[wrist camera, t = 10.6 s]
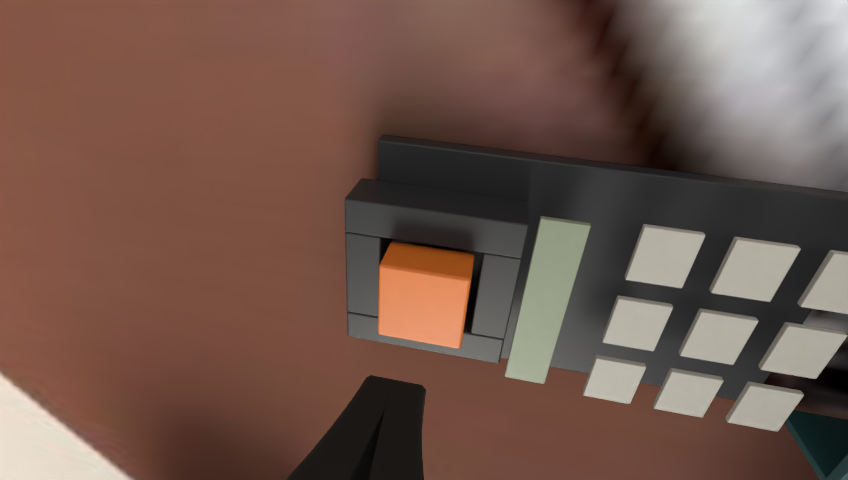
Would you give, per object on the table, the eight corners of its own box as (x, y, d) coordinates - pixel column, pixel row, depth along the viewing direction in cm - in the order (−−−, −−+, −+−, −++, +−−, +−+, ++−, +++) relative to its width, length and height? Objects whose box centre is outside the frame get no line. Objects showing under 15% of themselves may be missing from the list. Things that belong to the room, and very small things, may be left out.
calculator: (865, 193, 13) (934, 232, 11) (743, 389, 17) (775, 445, 15) (367, 131, 15) (343, 155, 13) (366, 322, 19) (347, 363, 17)
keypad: (774, 427, 15) (777, 431, 15) (503, 376, 16) (503, 380, 16) (896, 258, 12) (901, 262, 11) (542, 209, 13) (542, 212, 12)
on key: (475, 252, 14) (471, 279, 13) (464, 319, 16) (460, 350, 14) (390, 240, 14) (378, 264, 13) (388, 306, 16) (376, 335, 15)
